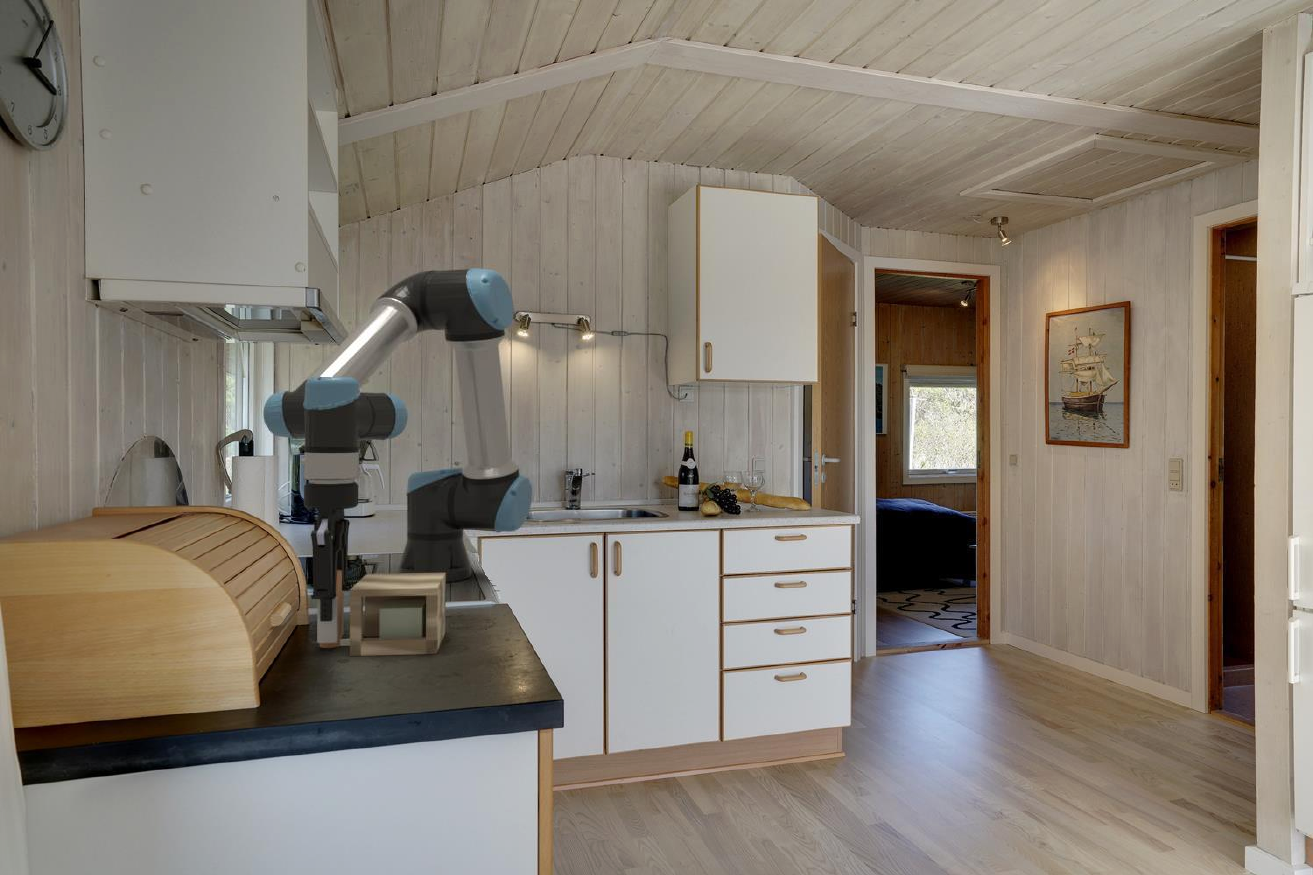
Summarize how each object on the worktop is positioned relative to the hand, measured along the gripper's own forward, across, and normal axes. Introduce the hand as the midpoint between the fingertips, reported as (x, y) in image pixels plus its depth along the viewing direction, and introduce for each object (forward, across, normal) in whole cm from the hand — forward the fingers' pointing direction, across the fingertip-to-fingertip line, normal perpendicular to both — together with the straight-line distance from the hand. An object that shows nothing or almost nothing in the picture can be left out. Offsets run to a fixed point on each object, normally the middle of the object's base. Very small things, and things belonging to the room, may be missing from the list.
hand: (330, 638), depth 122 cm
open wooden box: (+1, 0, +10) cm, 10 cm away
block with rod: (+1, 0, +6) cm, 6 cm away
